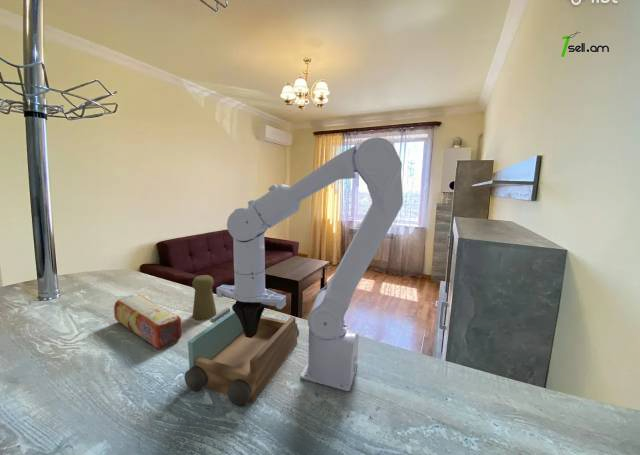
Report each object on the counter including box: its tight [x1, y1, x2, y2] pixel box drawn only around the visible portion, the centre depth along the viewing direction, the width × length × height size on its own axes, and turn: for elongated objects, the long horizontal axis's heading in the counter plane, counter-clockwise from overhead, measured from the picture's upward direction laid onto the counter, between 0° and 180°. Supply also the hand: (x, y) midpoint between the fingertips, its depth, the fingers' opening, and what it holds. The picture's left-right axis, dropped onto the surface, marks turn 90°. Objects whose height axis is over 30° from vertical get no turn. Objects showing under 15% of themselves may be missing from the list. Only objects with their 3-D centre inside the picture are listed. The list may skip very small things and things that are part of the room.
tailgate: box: [187, 307, 244, 369], centre depth 55 cm, size 2×18×7 cm, turn 161°
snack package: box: [113, 293, 183, 350], centre depth 64 cm, size 21×7×7 cm, turn 57°
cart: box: [183, 315, 300, 408], centre depth 54 cm, size 13×20×7 cm, turn 161°
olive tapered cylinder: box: [191, 274, 217, 321], centre depth 72 cm, size 6×6×11 cm
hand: (251, 335), depth 53 cm, fingers closed
